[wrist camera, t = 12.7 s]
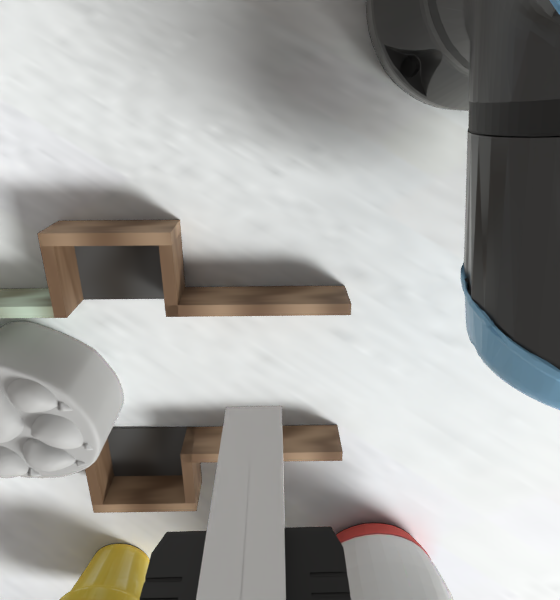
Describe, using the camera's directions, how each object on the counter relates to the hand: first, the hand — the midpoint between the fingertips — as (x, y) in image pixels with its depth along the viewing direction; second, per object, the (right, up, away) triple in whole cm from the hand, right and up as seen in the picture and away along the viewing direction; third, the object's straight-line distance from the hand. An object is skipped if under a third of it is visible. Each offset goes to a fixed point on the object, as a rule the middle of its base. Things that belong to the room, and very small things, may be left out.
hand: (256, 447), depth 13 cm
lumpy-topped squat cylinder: (-21, -4, +33) cm, 39 cm away
